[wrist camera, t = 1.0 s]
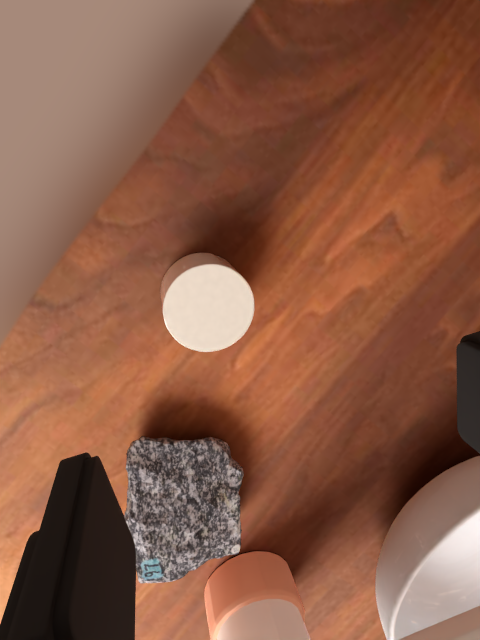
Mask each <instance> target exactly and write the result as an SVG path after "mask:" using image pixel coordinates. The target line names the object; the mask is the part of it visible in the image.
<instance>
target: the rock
mask: <svg viewBox="0 0 480 640" xmlns="http://www.w3.org/2000/svg"><path fill="white" fill-rule="evenodd" d="M126 470H127V472H128V491H127V508H126V512H125V515H124V518H125V520H126V523H127V525H128V527H129V530H130V532H131V535H132V537H133V540H134V543H135V549H136V571H137V575H138V580H139V583H162V582H172V581H175V580H178V579H180V578H182V577H184V576H185V575H186V574H187V573H188V572H189V571H192V570H195V569H197V568H198V567H199V566H200V565H202V564H204V563H205V562H206V561H208V560H209V559H213V558H222V557H224V556H227V555H236V554H238V553H239V551H240V546H241V531H242V530H241V522H240V496H239V489H240V487H241V484H242V478H243V476H244V472H243V468H242V467H241V466H240V465H239V463H238V462H236V461H235V460H233V459H232V458H231V454H230V447H229V445H228V444H227V443H226V442H224V441H222V440H221V439H215V438H213V437H207V438H203V439H197V440H193V441H190V440H174V439H171V438H157V439H151V438H148V437H145V436H142V437H141V438H140V439H139V440H136V441H133V442H132V443H131V444H130V447H129V449H128V451H127V463H126Z"/></svg>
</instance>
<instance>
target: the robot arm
mask: <svg viewBox="0 0 480 640" xmlns="http://www.w3.org/2000/svg"><path fill="white" fill-rule="evenodd" d="M457 428H458V432H459V434H460V436H461V438H462V439H463V440H464V441H465V442H466V443H467V444H469V445H470V446H471V447H472V448H474V449H475V450H476V451H477V452H479V453H480V331H479V332H476V333H473V334H469V335H466V336H464V337H463V338H462V339H461V341H460V344H458V346H457ZM135 591H136V549H135V543H134V540H133V537H132V535H131V532H130V530H129V527H128V525H127V523H126V520H125V518H124V515H123V513H122V511H121V508H120V506H119V503H118V501H117V498H116V496H115V494H114V491H113V489H112V486H111V484H110V482H109V479H108V477H107V474H106V472H105V469H104V467H103V465H102V462H101V460H100V458H99V457H98V456H95V457H92V458H91V456H90V455H89V454H88V453H83V454H80V455H77V456H73V457H70V458H67V459H64V460H62V461H61V462H60V464H59V467H58V470H57V473H56V477H55V480H54V484H53V487H52V490H51V494H50V497H49V500H48V504H47V507H46V510H45V514H44V517H43V520H42V524H41V527H40V530H39V531H36V532H34V533H33V534H32V535H31V536H30V537H29V539H28V541H27V544H26V547H25V550H24V553H23V556H22V559H21V562H20V565H19V569H18V572H17V575H16V578H15V581H14V584H13V587H12V590H11V593H10V596H9V599H8V602H7V606H6V609H5V612H4V615H3V618H2V621H1V624H0V640H135ZM399 640H480V606H478V607H475V608H473V609H470V610H468V611H466V612H463V613H461V614H458V615H456V616H454V617H451V618H449V619H446V620H444V621H442V622H439V623H437V624H434V625H432V626H430V627H427V628H425V629H423V630H420V631H418V632H415V633H413V634H411V635H408V636H406V637H403V638H401V639H399Z"/></svg>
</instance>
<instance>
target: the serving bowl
mask: <svg viewBox="0 0 480 640" xmlns="http://www.w3.org/2000/svg"><path fill="white" fill-rule="evenodd" d="M375 590H376V600H377V607H378V612H379V616H380V620H381V623H382V627H383V630H384V633H385V635H386V638H387V640H399V639H401V638H403V637H406V636H408V635H411V634H413V633H415V632H418V631H420V630H423V629H425V628H427V627H430V626H432V625H434V624H437V623H439V622H442V621H444V620H446V619H449V618H451V617H454V616H456V615H458V614H461V613H463V612H466V611H468V610H470V609H473V608H475V607H478V606H480V456H477V457H474V458H471V459H468V460H466V461H464V462H462V463H459V464H457V465H455V466H453V467H451V468H449V469H448V470H446V471H444V472H443V473H441V474H440V475H438V476H437V477H435V478H434V479H432V480H431V481H430V482H429V483H427V484H426V485H425V486H424V487H422V488H421V489H420V490H419V491H418V492H417V493H416V494H415V495H414V496H413V497H412V498H411V499H410V500H409V501H408V502H407V504H406V505H405V506H404V507H403V508H402V510H401V511H400V513H399V514H398V515H397V517H396V518H395V520H394V522H393V523H392V525H391V527H390V529H389V531H388V533H387V535H386V537H385V539H384V542H383V545H382V548H381V551H380V554H379V558H378V563H377V569H376V583H375Z"/></svg>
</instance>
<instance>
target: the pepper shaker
mask: <svg viewBox="0 0 480 640" xmlns="http://www.w3.org/2000/svg"><path fill="white" fill-rule="evenodd" d="M204 595H205V605H206V612H207V619H208V626H209V633H210V639H211V640H311V639H310V637H309V634H308V632H307V629H306V626H305V624H304V618H305V609H304V606H303V603H302V601H301V598H300V595H299V593H298V590H297V587H296V584H295V582H294V579H293V576H292V574H291V571H290V569H289V566H288V564H287V562H286V561H285V560H284V559H283V558H281V557H280V556H279V555H276V554H273V553H270V552H262V551H254V552H249V553H244V554H240V555H238V556H236V557H234V558H232V559H230V560H227V561H226V562H225V563H224V564H222V565H221V566H220V567H218V568H217V569H216V570H215V571H214V573H213V574H212V575H211V576H210V578H209V579H208V581H207V584H206V587H205V590H204Z"/></svg>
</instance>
